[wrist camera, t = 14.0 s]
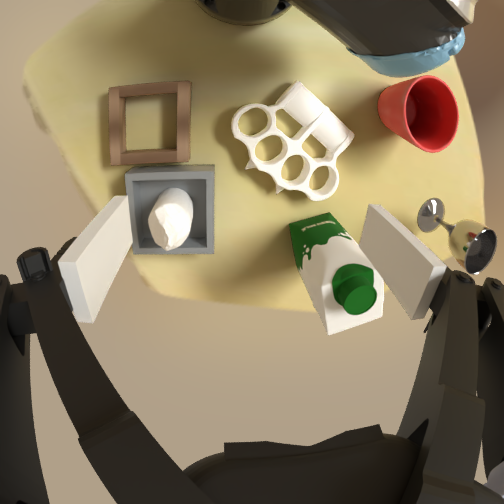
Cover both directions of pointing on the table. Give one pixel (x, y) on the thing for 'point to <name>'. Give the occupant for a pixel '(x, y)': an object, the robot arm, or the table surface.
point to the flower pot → (421, 112)
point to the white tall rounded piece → (171, 218)
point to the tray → (146, 195)
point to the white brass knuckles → (298, 140)
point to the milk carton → (336, 273)
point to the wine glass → (461, 236)
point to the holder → (119, 127)
